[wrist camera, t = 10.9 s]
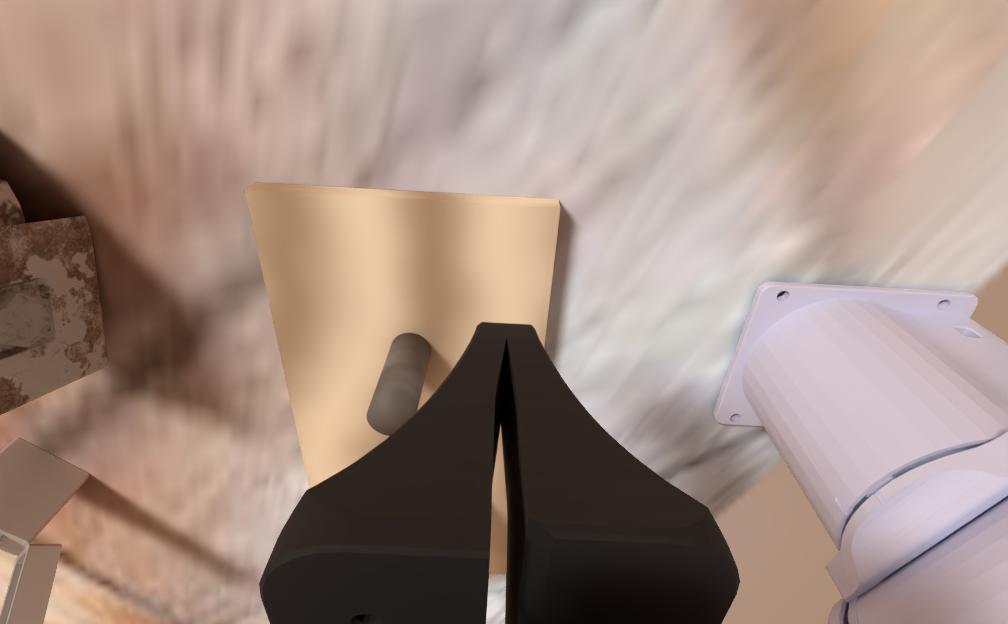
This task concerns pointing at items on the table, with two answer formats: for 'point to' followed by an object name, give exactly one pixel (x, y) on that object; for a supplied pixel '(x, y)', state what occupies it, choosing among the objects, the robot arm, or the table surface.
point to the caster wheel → (46, 304)
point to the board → (392, 305)
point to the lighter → (31, 524)
